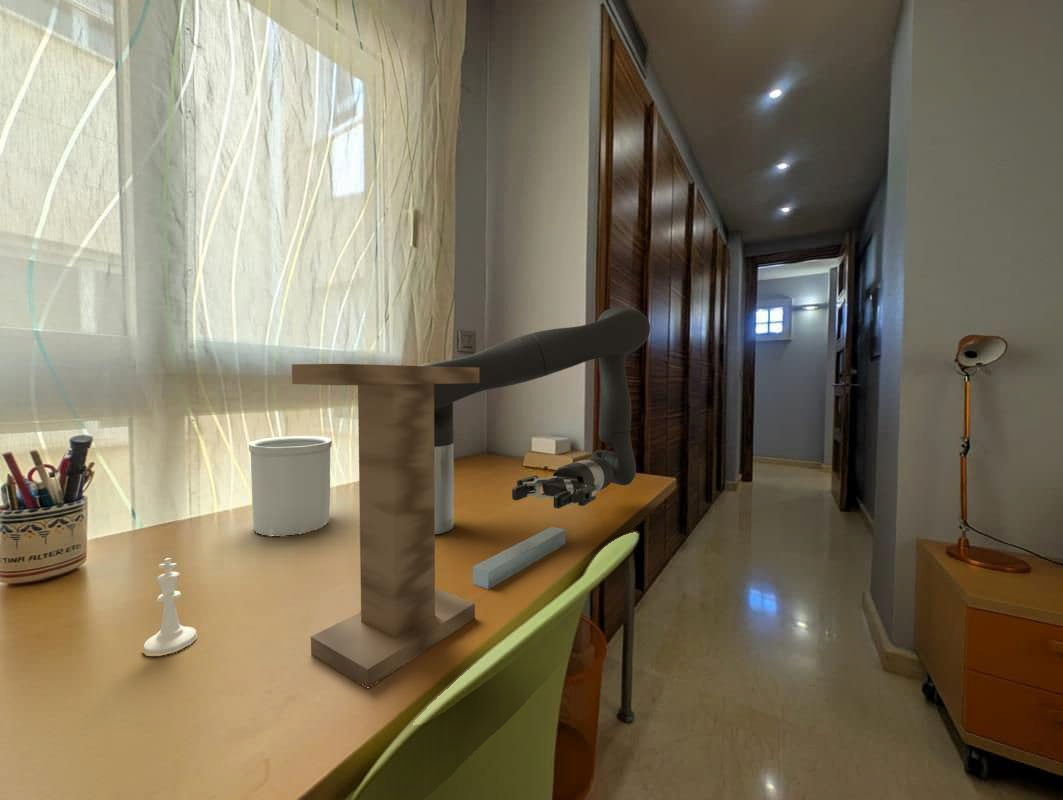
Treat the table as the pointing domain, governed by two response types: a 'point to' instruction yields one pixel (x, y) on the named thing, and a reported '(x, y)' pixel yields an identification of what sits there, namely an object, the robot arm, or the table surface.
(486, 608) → the table surface
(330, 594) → the table surface
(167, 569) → the chess piece
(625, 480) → the robot arm
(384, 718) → the table surface
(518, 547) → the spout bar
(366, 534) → the walnut stand
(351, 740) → the table surface
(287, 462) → the utensil holder
